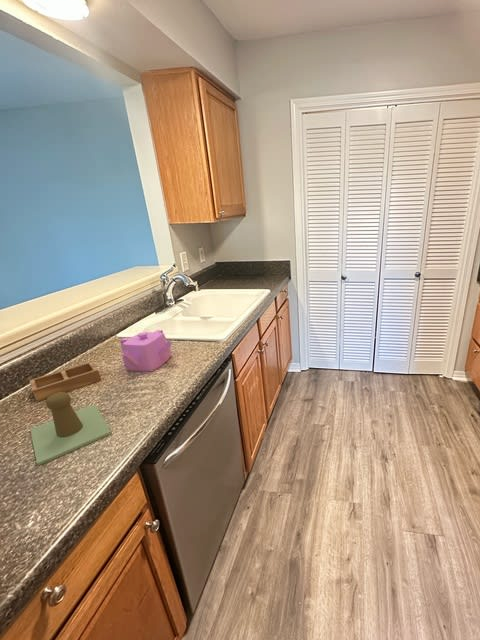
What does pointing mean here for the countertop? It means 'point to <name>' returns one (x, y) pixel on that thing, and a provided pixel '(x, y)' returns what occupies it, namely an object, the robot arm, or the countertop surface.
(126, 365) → the purple knobbed polyhedron
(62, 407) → the cork
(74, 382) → the box
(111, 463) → the countertop surface
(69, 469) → the countertop surface
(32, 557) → the countertop surface
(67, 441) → the drying mat
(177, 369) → the countertop surface
